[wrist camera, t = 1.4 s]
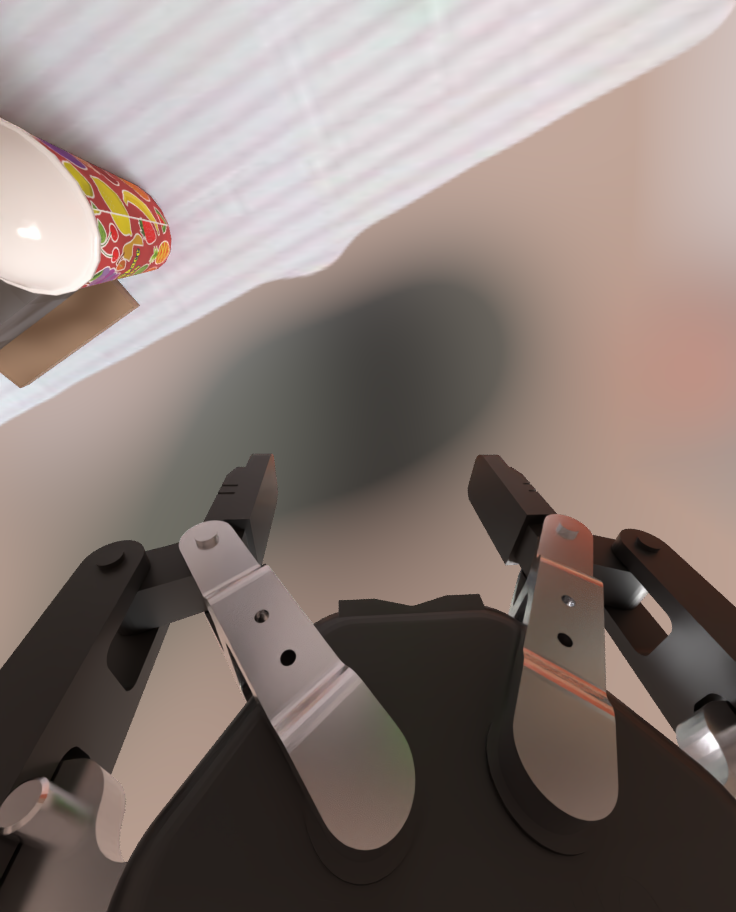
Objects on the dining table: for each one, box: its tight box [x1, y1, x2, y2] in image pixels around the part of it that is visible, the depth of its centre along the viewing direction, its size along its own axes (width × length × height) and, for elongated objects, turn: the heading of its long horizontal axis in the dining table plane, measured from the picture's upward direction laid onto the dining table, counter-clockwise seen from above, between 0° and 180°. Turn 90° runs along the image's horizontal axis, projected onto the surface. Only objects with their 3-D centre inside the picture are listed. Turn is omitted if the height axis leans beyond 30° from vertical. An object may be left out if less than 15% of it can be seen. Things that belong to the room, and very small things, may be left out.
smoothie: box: [0, 118, 171, 296], centre depth 21 cm, size 8×8×20 cm
